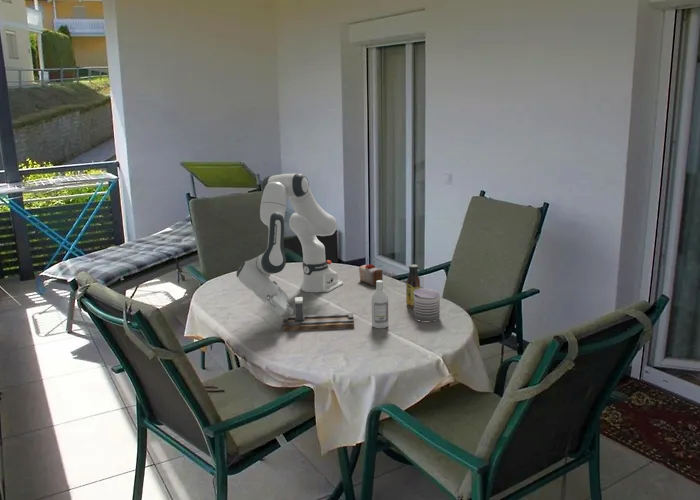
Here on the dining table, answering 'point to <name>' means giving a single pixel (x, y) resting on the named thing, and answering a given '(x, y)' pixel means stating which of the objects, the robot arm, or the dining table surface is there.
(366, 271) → the food item
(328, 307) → the dining table surface
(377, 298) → the bath foam
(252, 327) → the dining table surface
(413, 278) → the sauce bottle
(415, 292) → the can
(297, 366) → the dining table surface
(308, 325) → the fader console
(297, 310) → the fader knob
